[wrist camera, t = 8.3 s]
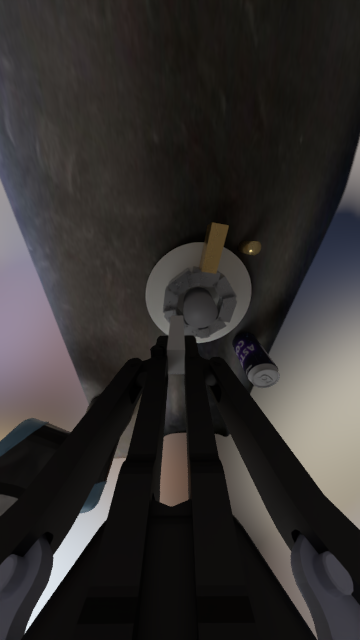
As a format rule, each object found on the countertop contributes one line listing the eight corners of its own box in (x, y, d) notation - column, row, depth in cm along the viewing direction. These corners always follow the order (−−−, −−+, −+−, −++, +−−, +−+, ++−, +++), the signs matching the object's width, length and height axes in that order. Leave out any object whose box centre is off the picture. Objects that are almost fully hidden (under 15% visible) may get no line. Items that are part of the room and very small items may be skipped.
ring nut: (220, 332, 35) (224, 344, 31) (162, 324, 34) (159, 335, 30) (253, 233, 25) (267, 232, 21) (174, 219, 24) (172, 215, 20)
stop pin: (244, 254, 28) (255, 257, 24) (235, 249, 28) (245, 251, 24) (251, 244, 28) (263, 245, 23) (242, 238, 27) (253, 238, 23)
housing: (210, 351, 40) (216, 373, 33) (132, 316, 35) (121, 333, 29) (271, 278, 30) (295, 288, 24) (175, 216, 26) (173, 208, 19)
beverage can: (243, 326, 36) (268, 363, 25) (259, 338, 37) (288, 377, 27) (226, 341, 38) (243, 380, 28) (241, 352, 40) (263, 393, 29)
